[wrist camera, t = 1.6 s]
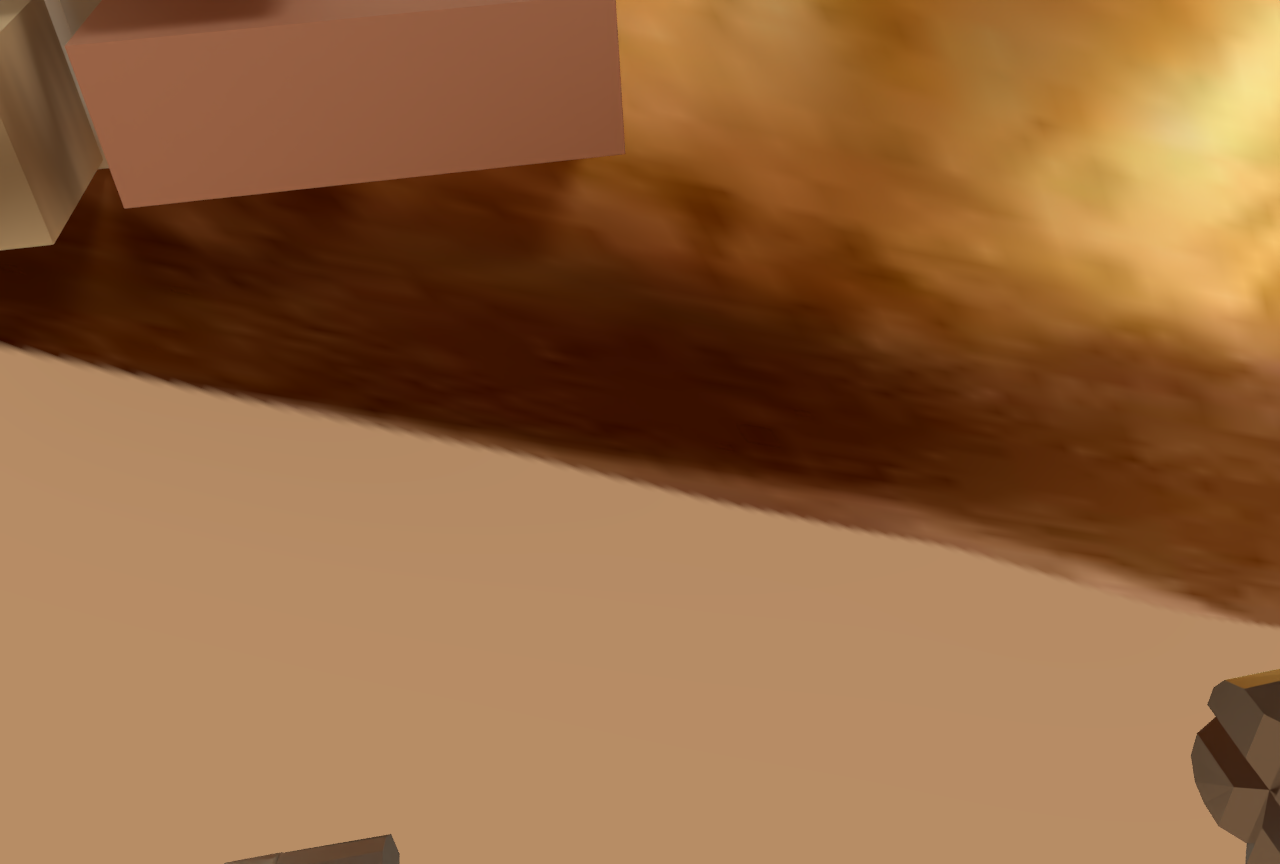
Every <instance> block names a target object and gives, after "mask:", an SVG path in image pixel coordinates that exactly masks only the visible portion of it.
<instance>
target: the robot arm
mask: <svg viewBox="0 0 1280 864" xmlns="http://www.w3.org/2000/svg"><path fill="white" fill-rule="evenodd" d="M1208 706H1209V707H1210V709H1211V710H1212V712H1213V713H1214V714H1215V716H1216V717H1215V718H1214V719H1213V720H1212V721H1211V722H1209V724H1207V725H1206V726H1205V727H1204V728H1203V729H1202V730H1200V731H1199V732H1198V733H1197V736H1196V739H1195V743H1194V747H1193V751H1192V754H1191V759H1192V765H1193V772H1194V778H1195V783H1196V785H1197V788H1198V790H1199V792H1200V795H1201V797H1202V799H1203V802H1204V804H1205V805H1206V807H1207V808H1208V810H1209V812H1210V813H1211V814H1212V816H1213V818H1214V820H1215V821H1216V823H1217V824H1218V826H1220V827H1221V828H1223V829H1224V830H1226V831H1228V832H1229V833H1231V834H1232V835H1234V836H1236V837H1237V838H1239V839H1241V840H1242V841H1244V842H1245V843H1247V849H1246V864H1280V669H1277V670H1272V671H1267V672H1262V673H1257V674H1252V675H1247V676H1242V677H1237V678H1232V679H1227V680H1224V681H1223V682H1221V683H1220V684H1218V685H1217V686H1215V687H1214V688H1213V691H1212V694H1211V696H1210V699H1209V702H1208ZM225 864H399V852H398V850H397V847H396V845H395V842H394V841H393V838H392V835H391V834H390V835H384V836H379V837H372V838H367V839H361V840H355V841H349V842H343V843H338V844H332V845H326V846H321V847H314V848H309V849H303V850H297V851H292V852H285V853H282V852H281V853H276V854H270V855H265V856H260V857H255V858H250V859H244V860H238V861H233V862H227V863H225Z"/></svg>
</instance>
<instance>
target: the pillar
mask: <svg viewBox="0 0 1280 864" xmlns="http://www.w3.org/2000/svg"><path fill="white" fill-rule="evenodd" d="M102 161H103V158H102V155H101V153H100V150H99V147H98V145H97V142H96V139H95V136H94V134H93V131H92V128H91V126H90V123H89V120H88V118H87V115H86V112H85V109H84V107H83V104H82V101H81V99H80V96H79V93H78V90H77V88H76V85H75V82H74V80H73V77H72V74H71V72H70V69H69V66H68V63H67V61H66V58H65V55H64V53H63V50H62V47H61V44H60V42H59V39H58V36H57V34H56V31H55V28H54V26H53V23H52V20H51V17H50V15H49V12H48V9H47V7H46V4H45V1H44V0H0V250H9V249H18V248H27V247H36V246H45V245H54V243H55V242H56V240H57V238H58V236H59V235H60V233H61V231H62V230H63V228H64V226H65V224H66V223H67V221H68V219H69V218H70V216H71V214H72V212H73V211H74V209H75V207H76V206H77V204H78V202H79V200H80V199H81V197H82V195H83V194H84V192H85V190H86V188H87V187H88V185H89V183H90V182H91V180H92V178H93V176H94V175H95V173H96V171H97V170H98V168H99V166H100V164H101V163H102Z"/></svg>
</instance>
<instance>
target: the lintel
mask: <svg viewBox="0 0 1280 864" xmlns="http://www.w3.org/2000/svg"><path fill="white" fill-rule="evenodd" d="M65 49H66V52H67V54H68V57H69V60H70V62H71V65H72V68H73V71H74V73H75V76H76V79H77V81H78V84H79V87H80V90H81V92H82V95H83V98H84V100H85V103H86V106H87V109H88V111H89V114H90V117H91V120H92V122H93V125H94V128H95V130H96V133H97V136H98V139H99V141H100V144H101V147H102V149H103V152H104V155H105V158H106V160H107V163H108V166H109V168H110V171H111V174H112V177H113V179H114V182H115V185H116V187H117V190H118V193H119V196H120V198H121V201H122V204H123V207H124V209H126V208H135V207H144V206H153V205H162V204H172V203H181V202H190V201H199V200H208V199H217V198H227V197H236V196H245V195H254V194H263V193H272V192H282V191H291V190H300V189H309V188H318V187H327V186H337V185H346V184H355V183H364V182H373V181H382V180H392V179H401V178H410V177H419V176H428V175H437V174H446V173H456V172H465V171H474V170H483V169H492V168H501V167H511V166H520V165H529V164H538V163H547V162H556V161H566V160H575V159H584V158H593V157H602V156H611V155H621V154H625V141H624V125H623V109H622V93H621V77H620V61H619V45H618V30H617V14H616V0H102V1H101V2H100V3H99V4H98V6H97V7H96V8H95V9H94V10H93V12H92V13H91V14H90V15H89V17H88V18H87V19H86V20H85V21H84V23H83V24H82V25H81V26H80V28H79V29H78V30H77V31H76V33H75V34H74V35H73V36H72V37H71V39H70V40H69V41H68V42H67V44H66V45H65Z"/></svg>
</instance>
